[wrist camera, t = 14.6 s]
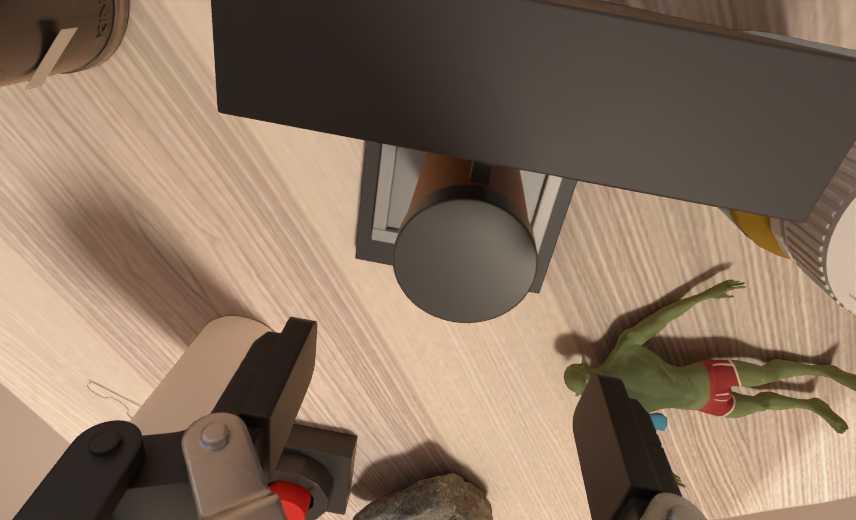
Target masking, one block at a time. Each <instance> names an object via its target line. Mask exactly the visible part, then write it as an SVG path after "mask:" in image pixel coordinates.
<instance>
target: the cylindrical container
mask: <svg viewBox="0 0 856 520" xmlns="http://www.w3.org/2000/svg"><path fill="white" fill-rule="evenodd" d="M268 331H271V332H273V331H272V330H271V329H270V328H268V327H267V326H265V325H263V324H261V323H260V322H257V321H255V320H252V319H249V318H245V317H240V316H225V317H221V318H217V319H215V320H213V321H211V322H209V323H208V324H207V325H206V326H205V327H204V328H203V330H202V331H201V332H200V333H199V335H198V336H197V337H196V339H195V340H194V341H193V342H192V344H191V345H190V346H189V347H188V349H187V350H186V351H185V352H184V354H183V355H182V356H181V357H180V359H179V360H178V361H177V363H176V364H175V365H174V366H173V368H172V369H171V370H170V371H169V373H168V374H167V375H166V376H165V378H164V379H163V380H162V382H161V383H160V384H159V385H158V387H157V388H156V389H155V390H154V392H153V393H152V394H151V395H150V397H149V398H148V399H147V400H146V401H145V403H144V404H143V405H142V406H141V408H140V409H139V410H138V411H137V413H136V414H135V415H134V416H133V418H132V419H131V420H130V421H129V422H130V423H133V424H134V425H136V426H137V427H138V428H139V429H140V431H141V433H142V435H153V434H163V433H173V432H179V431H182V430H186V429H187V428H188V427H189V426H190V425H191V424H192V423H193V422H194V421H196V420H197V419H199V418H201V417H203V416H206V415H208V414H210V413H211V411H212V410H213V409H214V407H215V405H216V404H217V402H218V400H219V399H220V397H221V395H222V394H223V392H224V390H225V389H226V387H227V385H228V384H229V382H230V380H231V379H232V377H233V375H234V374H235V372H236V370H237V369H238V368H239V365H240V364H241V362H242V360H243V359H244V358H245V356H246V354H247V352H248V350H249V349H250V347H251V345H252V344H253V342H254V341H255V340H257V339H258V338H259V337H261V336H262V335H264V334H265V333H266V332H268Z"/></svg>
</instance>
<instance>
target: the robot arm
mask: <svg viewBox="0 0 856 520" xmlns="http://www.w3.org/2000/svg"><path fill="white" fill-rule="evenodd" d="M128 12H129V3H128V0H0V87H3V86H8V85H12V84H16V83H21V82H25V81H30V82H29V83H28V85H27V87H26V88H25V90H26V89H30V88H34V87H38V86H42V85H43V83H44V81H45V80H46V78H47V77H48V76H52V75H56V74H66V73H74V72H78V71H82V70H87V69H90V68H93V67H96V66H98V65H100V64H102V63H103V62H105V61H106V60H108V59H109V58H110V57H111V56H112V55H113V54H114V52H115V51H116V50H117V48H118V47H119V45H120V43H121V41H122V39H123V37H124V34H125V31H126V27H127V22H128ZM316 339H317V322H316V321H312V320H306V319H301V318H295V317H290V318H289V320H288V321H287V323H286V325H285V327H284V329H283V331H282V332H281V333H276V332H271V331H268V332H266V333H265V334H264V335H262V336H261V337H259V338H258V339H257V340H255V341H254V342H253V344H252V345H251V347H250V349H249V350H248V352H247V354H246V356H245V358H244V359H243V360H242V362H241V364H240V365H239V368H238V369H237V370H236V372H235V374H234V375H233V377H232V379H231V380H230V382H229V384H228V385H227V387H226V389H225V390H224V392H223V394H222V395H221V397H220V399H219V400H218V402H217V404H216V405H215V407H214V409H213V410H212V411H211V413H210V414H208V415H206V416H203V417H201V418H199V419H197V420H196V421H194V422H193V423H192V424H191V425H190V426H189V427H188V428H187V429H186V430H182V431H179V432H173V433H163V434H153V435H142V433H141V431H140V429H139V428H138V427H137V426H136V425H134V424H133V423H130V422H127V421H119V420H117V421H108V422H104V423H100V424H98V425H95V426H93V427H91V428H89V429H87V430H86V431H84V432H83V433H81V434H80V435H79V436H78V437H77V438H76V439H75V440H74V441H73V442H72V443H71V445H70V446H69V447H68V449H67V450H66V451H65V452H64V454H63V455H62V456H61V458H60V459H59V460H58V461H57V463H56V464H55V465H54V467H53V468H52V469H51V471H50V472H49V473H48V474H47V476H46V477H45V478H44V480H43V481H42V482H41V483H40V485H39V486H38V487H37V489H36V490H35V491H34V492H33V494H32V495H31V496H30V498H29V499H28V501H26V503H25V504H24V505H23V507H22V508H21V509H20V510H19V512H18V513H17V514H16V516H15V517H14V518H13V519H12V520H288V519H287V516H286V513H285V511H284V508H283V506H282V503H281V501H280V498H279V496H278V495H277V493H276V492H273V493H272V492H271V490H270V488H269V486H268V483H267V481H269V482H270V481H271V478H272V476H273V473H274V471H275V468H276V466H277V463H278V461H279V458H280V456H281V453H282V451H283V448H284V446H285V443H286V441H287V439H288V436H289V434H290V431H291V429H292V426H293V424H294V421H295V419H296V416H297V414H298V411H299V409H300V406H301V404H302V401H303V399H304V396H305V394H306V392H307V389H308V387H309V384H310V381H311V378H312V375H313V371H314V366H315V355H316ZM573 433H574V438H575V442H576V447H577V452H578V456H579V461H580V466H581V471H582V475H583V480H584V485H585V489H586V494H587V499H588V504H589V508H590V513H591V518H592V520H707V519H706V518H705V516H704V515H703V514H702V512H701V511H700V510H699V509H698V508H697V507H696V506H695V505H693V504H692V503H691V502H689V501H688V500H686V499H685V498H683V497H682V495H681V493H680V490H679V487H678V485H677V482H676V480H675V477H674V475H673V472H672V470H671V467H670V465H669V462H668V460H667V457H666V454H665V452H664V449H663V448H661V445H662V444H661V442H660V439H659V437H658V435H657V434H656V429H655V427H654V424H653V421H652V419H651V416H650V414H649V413H648V412H647V411H646V410H645V408H644V407H643V406H642V405H641V404H640V402H639V401H638V400H637V399H631V398H629V396H628V394H627V391H626V388H625V385H624V383H623V381H622V379H621V378H618V377H612V376H607V375H601V374H596V373H594V374H592V375H591V376H590V378H589V380H588V383H587V385H586V387H585V389H584V391H583V393H582V396H581V398H580V400H579V402H578V404H577V406H576V409H575V412H574V416H573Z"/></svg>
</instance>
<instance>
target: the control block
mask: <svg viewBox="0 0 856 520" xmlns="http://www.w3.org/2000/svg"><path fill="white" fill-rule="evenodd" d="M356 444H357V436H352V435H347V434H341V433H336V432H331V431H326V430H321V429H316V428H310V427H305V426H300V425H295V424H293V426H292V429H291V431H290V434H289V436H288V439H287V441H286V443H285V446H284V448H283V451H282V453H281V456H280V458H279V461H278V463H277V466H276V468H275V471H274V473H273V476H272V478H271V481H270V482H269V481H267V483H268V486H270V485H271V484H272V483H274V482H276V481H287V482H292V483H296V484H298V485H300V486H302V487H304V488H305V489H307V490H308V491H309V493H310V494H311V502H310V505H309V508H308V511H307V514H306V517H305V520H315V519H317V518H318V517H320V516H321V515H322V514H324V513H325V512H326V511H327V512H332V513H337V514H342V515H344V514H345V511H346V508H347V504H348V500H349V496H350V491H351V483H352V476H353V468H354V460H355V452H356Z"/></svg>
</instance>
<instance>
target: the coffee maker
mask: <svg viewBox="0 0 856 520" xmlns="http://www.w3.org/2000/svg"><path fill="white" fill-rule="evenodd" d="M211 9H212V25H213V41H214V58H215V74H216V90H217V106H218V112H220V113H224V114H229V115H234V116H239V117H245V118H250V119H255V120H260V121H266V122H271V123H276V124H282V125H287V126H292V127H297V128H303V129H308V130H313V131H319V132H324V133H329V134H334V135H340V136H345V137H350V138H355V139H361V140H366V141H367V142H366V152H365V163H364V173H363V183H362V194H361V204H360V214H359V224H358V235H357V245H356V255H355V258H356V259H361V260H366V261H371V262H377V263H382V264H387V265H392V266H393V260H392V259H393V249H394V244H395V241H396V238H397V235H398V232H399V229H400V226H401V224H402V221H403V219H404V218H405V216H406V214H407V212H408V209H409V206H410V203H411V200H412V197H413V194H414V191H415V188H416V185H417V182H418V179H419V176H420V173H421V170H422V167H423V163H424V160H425V158H426V155H427V153H428V152H429V153H435V154H440V155H445V156H450V157H456V158H461V159H466V160H472V161H477V162H482V163H487V164H493V165H498V166H503V167H508V168H514V169H519V170H520V173H521V178H522V184H523V190H524V195H525V201H526V207H527V212H528V218H529V222H530V224H531V227H532V229H533V233H534V237H535V243H536V248H537V253H538V268H537V273H536V278H535V280H534V283H533V285H532V287H531V289H530V290H529V292H534V293H539V292H540V289H541V287H542V284H543V281H544V278H545V275H546V272H547V269H548V266H549V263H550V260H551V257H552V254H553V251H554V248H555V245H556V242H557V239H558V236H559V233H560V230H561V227H562V225H563V222H564V219H565V216H566V213H567V210H568V207H569V204H570V201H571V198H572V195H573V192H574V189H575V186H576V183H577V181H582V182H588V183H593V184H598V185H603V186H609V187H614V188H619V189H625V190H630V191H635V192H640V193H646V194H651V195H656V196H661V197H667V198H672V199H677V200H683V201H688V202H693V203H698V204H704V205H709V206H714V207H720V208H725V209H730V210H735V211H741V212H746V213H751V214H756V215H762V216H767V217H772V218H778V219H783V220H788V221H793V222H799V223H804V222H805V221H806V219H807V218H808V216H809V214H810V213H811V211H812V210H813V208H814V206H815V205H816V203H817V202H818V200H819V198H820V197H821V195H822V194H823V192H824V190H825V189H826V187H827V186H828V184H829V182H830V181H831V179H832V178H833V176H834V174H835V173H836V171H837V170H838V168H839V166H840V165H841V163H842V162H843V160H844V158H845V157H846V155H847V154H848V152H849V150H850V149H851V147H852V146H853V144H854V142H855V141H856V57H852V56H848V55H843V54H839V53H834V52H830V51H825V50H821V49H816V48H812V47H808V46H803V45H799V44H794V43H790V42H785V41H781V40H776V39H772V38H768V37H763V36H759V35H754V34H750V33H745V32H741V31H736V30H732V29H727V28H723V27H719V26H714V25H710V24H705V23H701V22H696V21H692V20H687V19H683V18H678V17H674V16H670V15H665V14H661V13H656V12H652V11H647V10H643V9H638V8H634V7H629V6H624V5H619V4H613V3H608V2H603V1H597V0H211Z"/></svg>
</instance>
